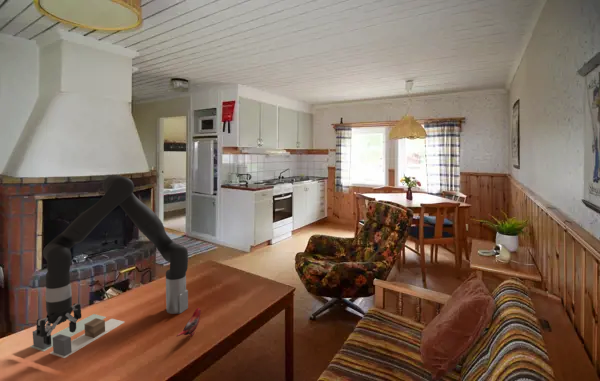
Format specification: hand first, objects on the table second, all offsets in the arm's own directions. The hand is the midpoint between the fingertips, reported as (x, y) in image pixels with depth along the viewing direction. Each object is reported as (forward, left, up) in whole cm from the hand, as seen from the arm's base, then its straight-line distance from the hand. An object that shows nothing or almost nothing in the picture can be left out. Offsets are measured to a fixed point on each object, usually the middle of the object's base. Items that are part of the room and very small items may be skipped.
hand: (60, 337), depth 113 cm
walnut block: (0, -13, -6) cm, 15 cm away
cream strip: (0, -11, -7) cm, 13 cm away
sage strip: (+11, -11, -7) cm, 17 cm away
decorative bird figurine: (-37, -26, -8) cm, 46 cm away
